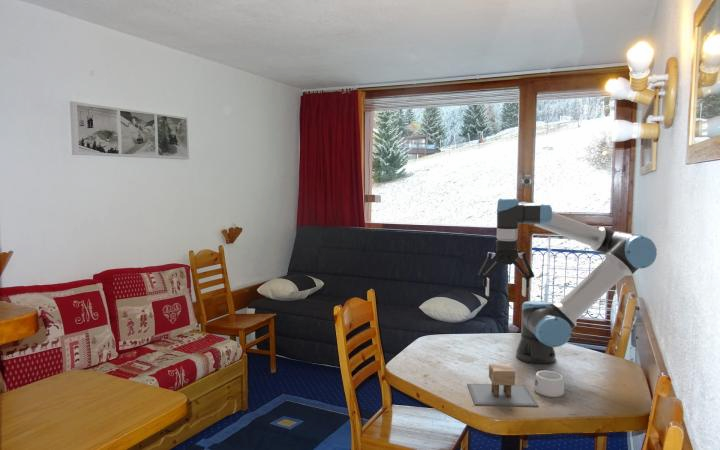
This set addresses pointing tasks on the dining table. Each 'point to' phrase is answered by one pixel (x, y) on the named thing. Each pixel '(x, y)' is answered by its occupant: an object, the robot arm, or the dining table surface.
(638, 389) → the dining table surface
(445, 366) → the dining table surface
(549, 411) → the dining table surface
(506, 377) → the small wooden stool
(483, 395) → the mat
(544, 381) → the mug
